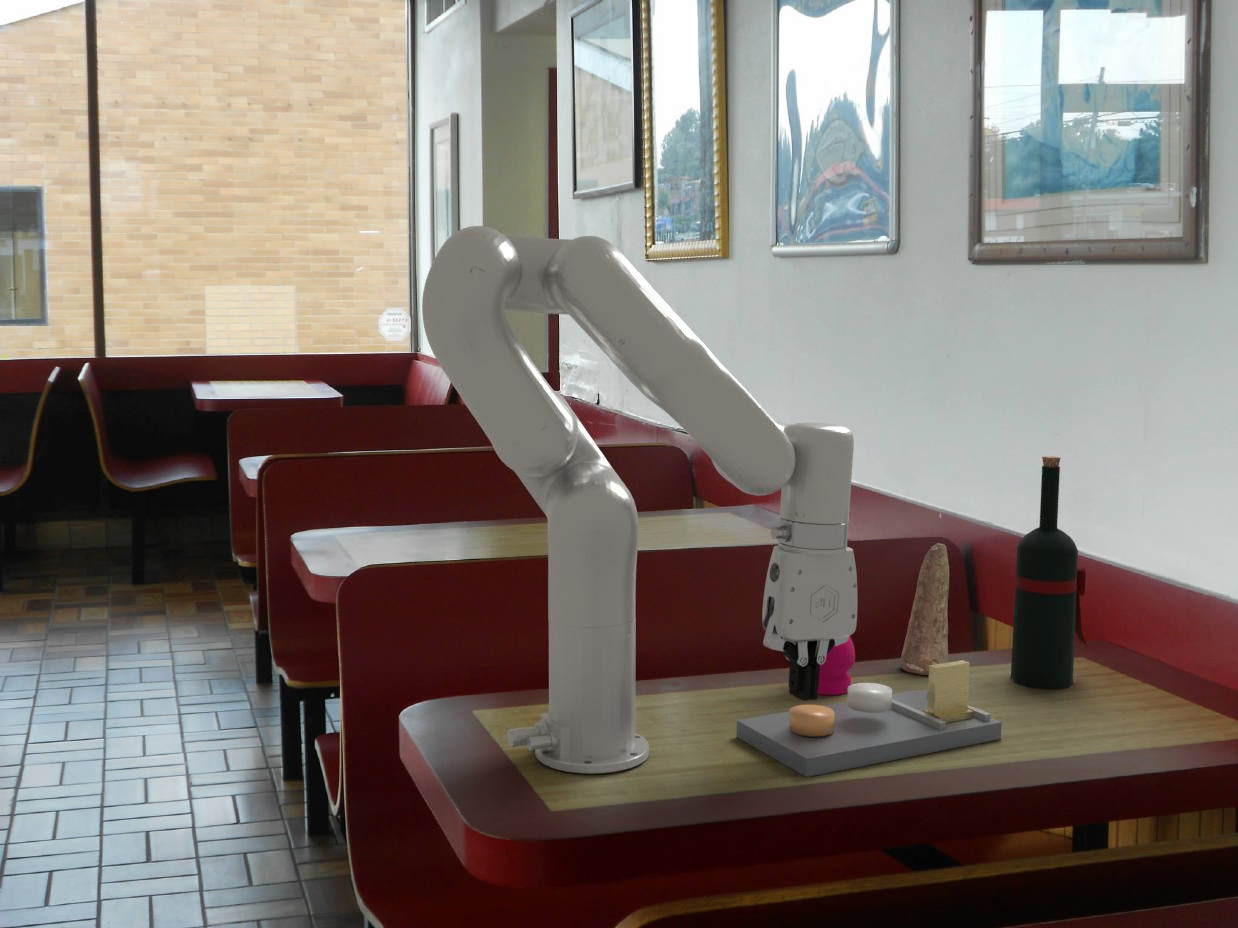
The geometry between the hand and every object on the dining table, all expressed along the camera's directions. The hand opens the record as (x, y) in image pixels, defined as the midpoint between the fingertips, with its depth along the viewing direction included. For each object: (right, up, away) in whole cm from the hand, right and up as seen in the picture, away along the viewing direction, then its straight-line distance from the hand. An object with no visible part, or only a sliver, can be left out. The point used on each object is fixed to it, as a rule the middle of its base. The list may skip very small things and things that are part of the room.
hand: (803, 696), depth 141 cm
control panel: (+8, -6, +4) cm, 11 cm away
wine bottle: (+37, -3, +27) cm, 46 cm away
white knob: (+8, -2, +4) cm, 9 cm away
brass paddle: (+18, -3, +5) cm, 19 cm away
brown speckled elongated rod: (+21, -2, +32) cm, 38 cm away
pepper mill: (+6, -3, +23) cm, 25 cm away
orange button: (+1, -4, +1) cm, 4 cm away
